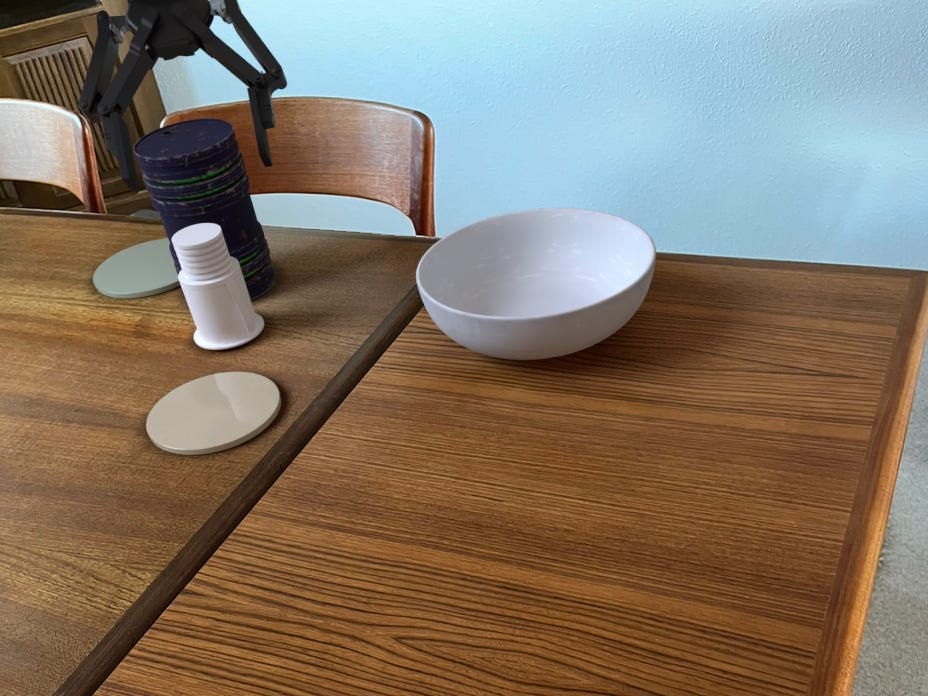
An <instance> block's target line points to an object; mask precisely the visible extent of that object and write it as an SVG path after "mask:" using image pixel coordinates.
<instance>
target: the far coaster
mask: <svg viewBox="0 0 928 696" xmlns="http://www.w3.org/2000/svg"><path fill="white" fill-rule="evenodd" d="M169 244H170V242H169V239H168V237H167V238H166V237H165V238H159V239H154V240H148V241H145V242H141V243H137V244H134V245H132V246H129V247H126V248H124V249H122V250H120V251H118V252H115V254H113V255H111V256H110V257H108V258H107V259H105V260H104V261H103V262H101V263H100V264H99V265H98V267H97V268H96V269H95V270H94V273H93V275H92V282H93V285H94V287H95V289H96V290H97V291H98V293H100V294H102V295H104V296H106V297H110V298H116V299H136V298H137V299H138V298H145V297H150V296H154V295H158V294H162V293H165V292H168V291H171V290H173V289H176V288H178V287H181V284H180V282H179V279H178V274H177V271H176V269H175V266H174V260H173V258H172V255H171V252H170V249H169Z"/></svg>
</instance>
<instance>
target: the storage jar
mask: <svg viewBox="0 0 928 696" xmlns="http://www.w3.org/2000/svg"><path fill="white" fill-rule="evenodd" d="M132 150H133V154H134V155H135V158H136V161H137V162H139V164H138V166H139V169H140V172H141V175H142V180H143V183H144V186H145V188H146V191H147V193H148V194H149V197H150V202H151V204H152V205H153V208H154V210H155V211H156V212H157V213H158V214H159V217H160V220H161V224H162V226H163V228H164V231H165V233H166V236H167V238H168V239H169V242H170V244H169V249H170V252H171V255H172V258H173V260H174V266H175V269H176V271H177V274H179V272H180V271H181V270H182V268H181V265H180V262H179V260H178V257H177V254H176V251H175V249H174V245H173V243H172V237H173V235H174V234H175V233H177V232H178V231H180V230H181V229H183V228H186V227H188V226H191V225H195V224H201V223H213V224H217V225H219V226H220V227H221V230H222V233H223V236H224V240H225V242H226V246H227V249H228V252H229V255H230V256H231V257H234V258H236V259H237V260H238V262H239V265H240V268H241V271H242V274H243V277H244V281H245V284H246V287H247V290H248V293H249V297H250V300H251V301H253V300H256V299H258V298H259V297H261V296H263V295H264V294H266V293H267V292H268V291H270V290H271V289H272V287H273V286H274V285H275V283H276V279H277V275H276V272H275V268H274V267H273V266H272V262H273V261H272V258H271V251H270V246H269V243H268V240H267V239H266V236H265V232H264V230H263V226H262V223H261V222H260V221H259V220H258V217H257V214H256V211H255V207H254V203H253V200H252V196H251V193H250V188H251V187H250V185H251V184H250V177H249V175H248V173H247V171H246V164H245V161H244V157H243V153H242V152H241V150H240V147H239V143H238V141H237V139H236V133H235V128H234V126H233V124H232V123H231V122H230V121H228V120H226V119H221V118H213V117H211V118H210V117H209V118H208V117H206V118H194V119H193V118H192V119H189V120H182V121H177V122H174V123H171V124H167V125H164V126H162V127H159V128H157V129H154V130H152V131H150V132H149V133H146V134H145V135H143V136H142V137H139V139H138V140H137V141H136V142H135V143H134V145H133V147H132Z"/></svg>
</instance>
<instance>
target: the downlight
mask: <svg viewBox="0 0 928 696" xmlns="http://www.w3.org/2000/svg"><path fill="white" fill-rule="evenodd" d="M172 243H173V245H174V249H175V251H176V254H177V257H178V260H179V262H180V265H181V268H182V270H181V271H180V272H179V274H178V279H179V282H180V284H181V285H180V287H181V289H182V292H183V295H184V298H185V300H186V303H187V306H188V309H189V311H190V314H191V317H192V319H193V322H194V325H195V328H196V330H195V331H194V333H193V341H194V343H195V344H196V345H197V346H198V347H200V348H202V349H205V350H212V351H213V350H214V351H219V350H229V349H232V348H233V349H234V348H236V347H239V346H242V345H245V344H246V343H249V342H250V341H252V340H254V339H256V338H257V337H258V336H259V335H260V334H261V333H262V331H263V330H264V327H265V321H264V318H263V317H262V316H261V315H260V314H258V313H256V312H255V310H254V307H253V302H252V300H250V297H249V293H248V290H247V287H246V284H245V281H244V277H243V274H242V271H241V268H240V265H239V262H238V260H237V259H236V258H234V257H231V256H230V255H229V252H228V249H227V246H226V242H225V240H224V236H223V233H222V230H221V227H220V226H219V225H217V224H213V223H201V224H195V225H191V226H188V227H186V228H183V229H181V230H180V231H178V232H177V233H175V234H174V235H173V237H172Z"/></svg>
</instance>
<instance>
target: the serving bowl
mask: <svg viewBox="0 0 928 696" xmlns="http://www.w3.org/2000/svg"><path fill="white" fill-rule="evenodd" d="M656 261H657V248H656V244H655V241H654V240H653V238H652V237H651V236H650V234H649V233H648V232H646V231H645V229H644V228H642V227H641V226H639V225H638V224H636V223H634V222H632V221H630V220H628V219H625V218H623V217H620V216H618V215H615V214H612V213H609V212H608V213H607V212H605V211H604V212H603V211H600V210H599V211H598V210H592V209H586V208H575V207H542V208H532V209H522V210H516V211H511V212H507V213H501V214H497V215H493V216H489V217H486V218H482V219H479V220H477V221H474V222H472V223H471V222H470V223H469V224H466V225H464V226H463V227H459V228H458V229H455V230H454V231H452V232H450V233H449V234H446V235H445V236H444V237H442V238H440V239H439V240H437V242H435V243H434V244H432V245H431V247H429V248H428V250H426V252H425V253H424V254H423V255H422V257H421V258H420V260H419V262H418V265H417V266H416V267H417V268H416V272H415V281H416V285H417V290H418V292H419V295H420V298H421V302H422V304H424V308H425V309H426V312H427V314H428V315H429V317H430V318H431V320H432V322H433V323H434V324H435V325H436V326H437V328H438V329H440V331H441V332H442V333H444V334H445V335H446V336H447V337H448V338H449V339H451V340H452V341H454V342H455V343H456V344H458V345H460V346H462V347H464V348H466V349H468V350H470V351H473V352H475V353H478V354H480V355H481V354H482V355H483V356H484V355H485V356H487V357H493V358H499V359H504V360H515V361H516V360H517V361H531V360H545V359H551V358H557V357H562V356H566V355H570V354H573V353H574V354H575V353H576V352H580V351H583V350H585V349H588V348H590V347H592V346H594V345H596V344H598V343H601V342H602V341H604V340H605V339H607V338H609V337H611V336H613V334H615V333H616V332H618V331H619V330H620V329H621V328H623V327H624V326H625V325H626V324H627V323H628V322H629V321H630V320H631V319H632V317H634V315H635V314H636V313H637V311H638V310H639V308H640V307H641V305H642V304H643V302H644V301H645V299H646V296H647V294H648V293H649V289H650V286H651V283H652V280H653V276H654V272H655V266H656Z"/></svg>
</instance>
